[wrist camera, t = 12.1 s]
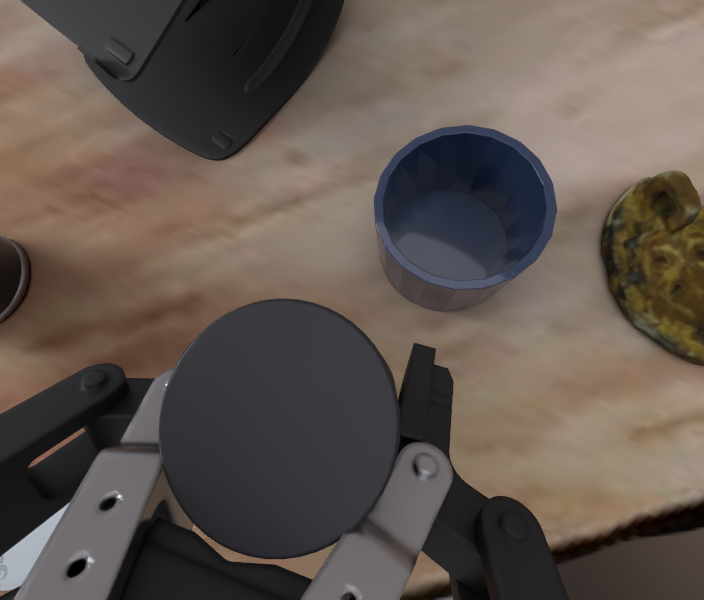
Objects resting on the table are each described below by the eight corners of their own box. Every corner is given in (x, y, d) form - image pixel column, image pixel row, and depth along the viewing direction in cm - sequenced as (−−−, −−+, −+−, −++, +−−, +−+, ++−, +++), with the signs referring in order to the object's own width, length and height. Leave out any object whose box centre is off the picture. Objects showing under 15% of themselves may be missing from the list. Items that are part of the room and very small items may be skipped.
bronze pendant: (760, 351, 27) (675, 178, 30) (845, 345, 22) (734, 141, 25) (645, 381, 26) (571, 202, 29) (708, 381, 22) (611, 169, 25)
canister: (283, 425, 16) (119, 507, 6) (313, 329, 17) (206, 273, 7) (380, 458, 15) (359, 605, 6) (407, 356, 16) (428, 333, 6)
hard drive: (-10, 594, 27) (139, 581, 26) (-1, 480, 29) (139, 464, 28) (13, 581, 29) (154, 569, 28) (20, 474, 31) (153, 458, 30)
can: (364, 292, 30) (354, 265, 22) (397, 176, 32) (398, 113, 24) (498, 326, 28) (537, 309, 21) (525, 200, 30) (570, 141, 22)
